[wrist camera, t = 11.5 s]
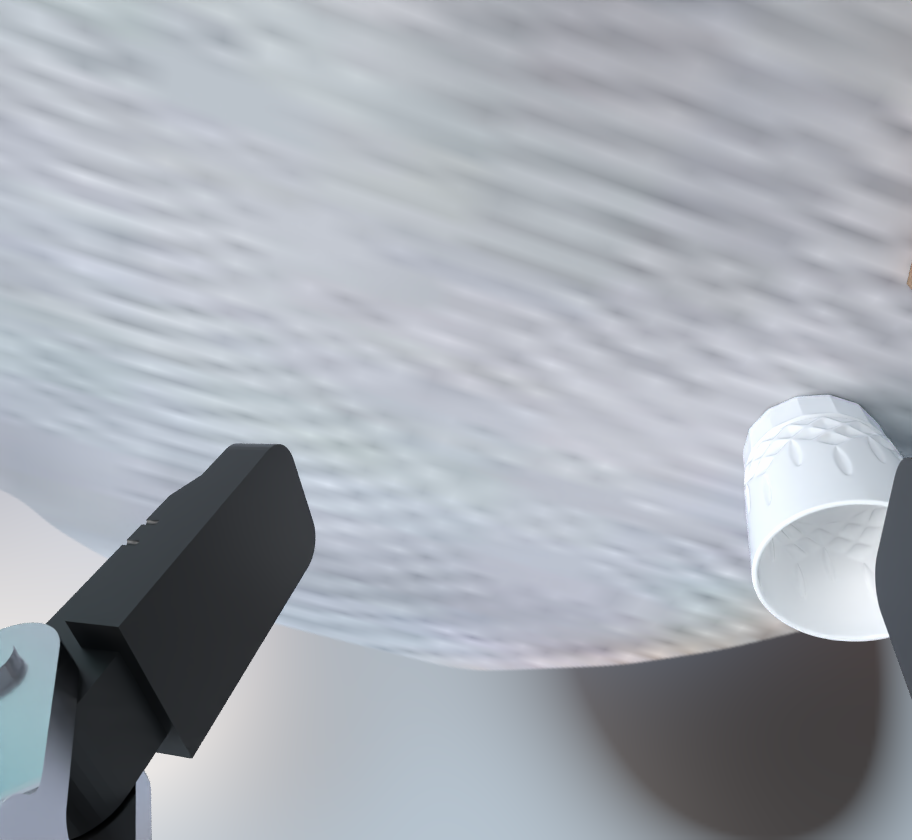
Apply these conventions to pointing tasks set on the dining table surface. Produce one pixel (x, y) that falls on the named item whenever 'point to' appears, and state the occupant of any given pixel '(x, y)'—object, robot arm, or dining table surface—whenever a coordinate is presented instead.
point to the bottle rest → (910, 278)
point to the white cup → (818, 514)
